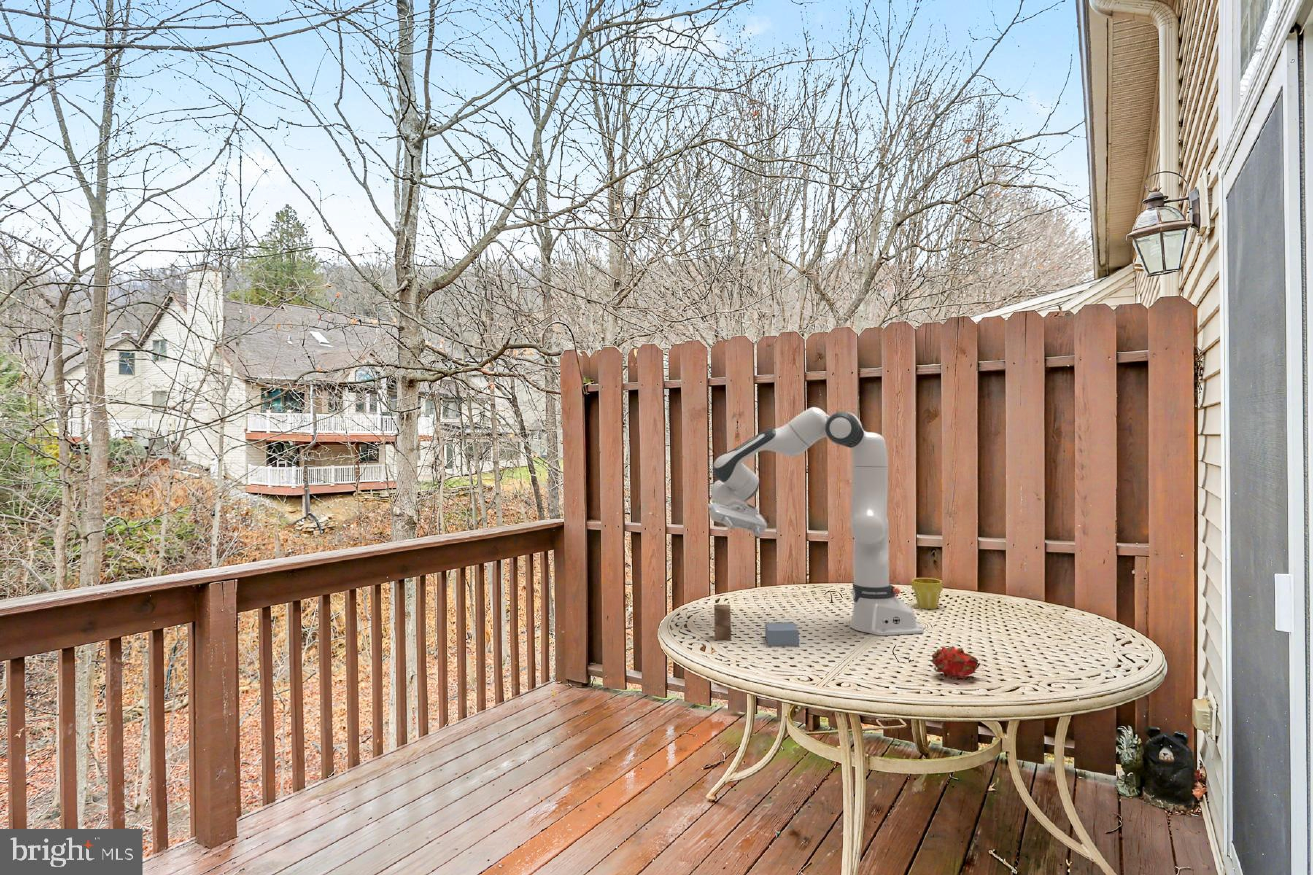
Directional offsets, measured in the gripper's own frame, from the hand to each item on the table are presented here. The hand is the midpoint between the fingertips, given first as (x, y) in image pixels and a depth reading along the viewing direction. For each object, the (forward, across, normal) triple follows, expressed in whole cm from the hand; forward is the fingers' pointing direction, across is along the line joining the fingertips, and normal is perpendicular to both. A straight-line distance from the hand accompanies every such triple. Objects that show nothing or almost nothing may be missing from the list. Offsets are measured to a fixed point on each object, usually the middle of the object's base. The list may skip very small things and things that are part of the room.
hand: (744, 530), depth 209 cm
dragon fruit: (+62, +38, -5) cm, 73 cm away
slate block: (+26, +14, +21) cm, 36 cm away
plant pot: (+3, +81, +9) cm, 81 cm away
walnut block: (+18, 0, +30) cm, 35 cm away
